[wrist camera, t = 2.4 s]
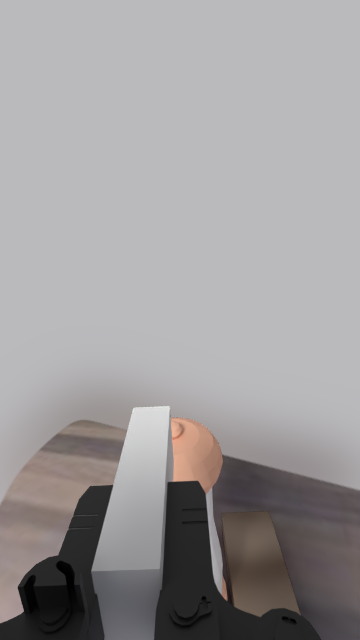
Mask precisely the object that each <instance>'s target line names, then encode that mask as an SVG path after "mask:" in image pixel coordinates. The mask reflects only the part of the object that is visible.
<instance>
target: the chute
mask: <svg viewBox="0 0 360 640" xmlns="http://www.w3.org/2000/svg"><path fill="white" fill-rule="evenodd" d="M222 534H223V542H224V549H225V557H226V564H227V572H228V579H229V587H230V594H231V602H232V606H234V607H236V608H238V609H240V610H242V611H245V612H248V613H250V614H253V615H256V616H259V617H261V616H262V615H263V614H265V613H266V612H268V611H269V610H271V609H277V608H286V609H288V610H291V611H294V612H297V613H298V614H299V615H301V614H300V611H299V608H298V604H297V601H296V598H295V595H294V591H293V588H292V585H291V581H290V578H289V575H288V572H287V568H286V565H285V562H284V559H283V555H282V552H281V549H280V546H279V542H278V539H277V536H276V532H275V529H274V526H273V523H272V519H271V516H270V513H269V511H259V512H235V513H222Z"/></svg>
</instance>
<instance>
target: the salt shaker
mask: <svg viewBox="0 0 360 640" xmlns="http://www.w3.org/2000/svg"><path fill="white" fill-rule="evenodd" d="M171 429H172V443H173V457H174V472H173V482H176V481H199V483H200V485H201V486H202V488H203V490H204V491H205V493H206V502H207V513H208V524H209V535H210V546H211V557H212V568H213V576H214V581H215V584H216V586H217V588H218V590H219V592H220V593H221V595H222V596H223V597H224V599H225V600H226V601H227V590H226V582H225V580H224V578H223V576H222V569H223V563H222V554H221V548H220V544H219V539H218V535H217V531H216V527H215V522H214V518H213V500H212V487H213V485H214V484H215V483H216V481H217V479H218V477H219V474H220V471H221V467H222V464H223V459H222V453H221V449H220V446H219V443H218V442H217V440H216V439H215V437H214V436H213V434H212V433H211V432H210V431H209V430H208V429H207V428H206V427H205V426H203V425H202V424H200V423H198V422H196V421H193V420H191V419H185V418H171Z"/></svg>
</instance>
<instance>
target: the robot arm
mask: <svg viewBox="0 0 360 640" xmlns="http://www.w3.org/2000/svg"><path fill="white" fill-rule="evenodd" d="M173 472H174V457H173V443H172V429H171V415H170V406H162V407H139V408H133V412H132V416H131V419H130V424H129V427H128V431H127V435H126V439H125V443H124V446H123V450H122V454H121V458H120V462H119V466H118V470H117V473H116V477H115V481H114V485H106V486H90V487H89V488H88V489H87V491H86V492H85V493H84V494H83V495H82V497H81V498H80V499H79V501H78V504H77V506H76V509H75V512H74V516H73V518H72V520H71V523H70V525H69V530H68V531H67V533H66V536H65V539H64V541H63V544H62V547H61V550H60V552H59V555H58V556H53V557H49V558H47V559H45V560H43V561H41V562H39V563H38V564H36V565H35V566H34V567H33V568H32V569H31V570H30V571H29V572H28V573H27V574H25V576H24V578H23V579H22V581H21V582H20V584H19V586H18V590H19V594H20V598H21V601H22V605H23V609H24V612H23V613H22V614H20V615H18V616H16V617H14V618H12V619H10V620H8V621H6V622H3V623H0V640H321V639H320V637H319V635H318V634H317V632H316V631H315V630H314V628H313V627H312V625H311V624H310V623H309V622H308V621H307V620H306V619H305V618H303V617H302V616H301V615H299V614H298V613H297V612H294V611H291V610H288V609H286V608H277V609H271V610H269V611H268V612H266V613H265V614H263V615H262V616H261V617H259V616H256V615H253V614H250V613H248V612H245V611H242V610H240V609H238V608H236V607H234V606H232V605H231V604H230V603H229V602H228V601H226V600H225V599H224V597H223V596H222V595H221V593H220V592H219V590H218V588H217V586H216V584H215V581H214V576H213V568H212V557H211V546H210V535H209V524H208V513H207V502H206V493H205V491H204V490H203V488H202V486H201V485H200V483H199V481H176V482H173Z"/></svg>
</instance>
